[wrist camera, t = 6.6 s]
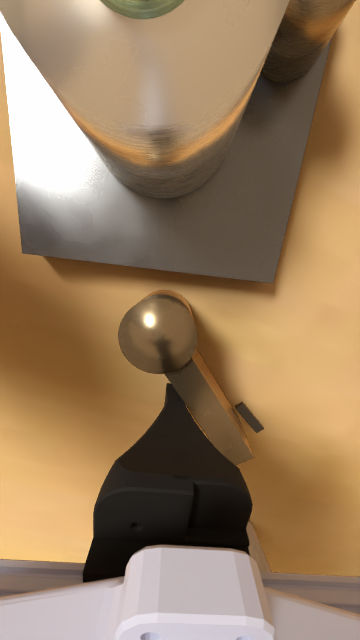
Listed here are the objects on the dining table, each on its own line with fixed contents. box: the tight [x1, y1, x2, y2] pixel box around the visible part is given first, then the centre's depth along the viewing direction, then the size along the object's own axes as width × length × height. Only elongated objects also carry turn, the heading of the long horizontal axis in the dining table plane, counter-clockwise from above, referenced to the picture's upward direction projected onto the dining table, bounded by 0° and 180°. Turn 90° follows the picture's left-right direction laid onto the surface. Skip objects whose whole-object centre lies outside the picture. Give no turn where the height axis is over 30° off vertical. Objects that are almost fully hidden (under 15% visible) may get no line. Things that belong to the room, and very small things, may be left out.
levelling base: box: [0, 0, 356, 433], centre depth 8 cm, size 17×25×7 cm
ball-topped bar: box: [118, 290, 254, 466], centre depth 11 cm, size 11×4×4 cm, turn 31°
